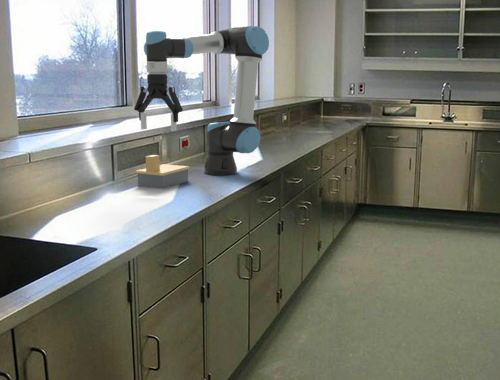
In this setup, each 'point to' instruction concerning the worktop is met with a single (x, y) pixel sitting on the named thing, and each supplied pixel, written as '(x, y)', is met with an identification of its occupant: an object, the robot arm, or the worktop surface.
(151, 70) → the robot arm
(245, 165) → the worktop surface
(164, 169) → the lid
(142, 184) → the tub
